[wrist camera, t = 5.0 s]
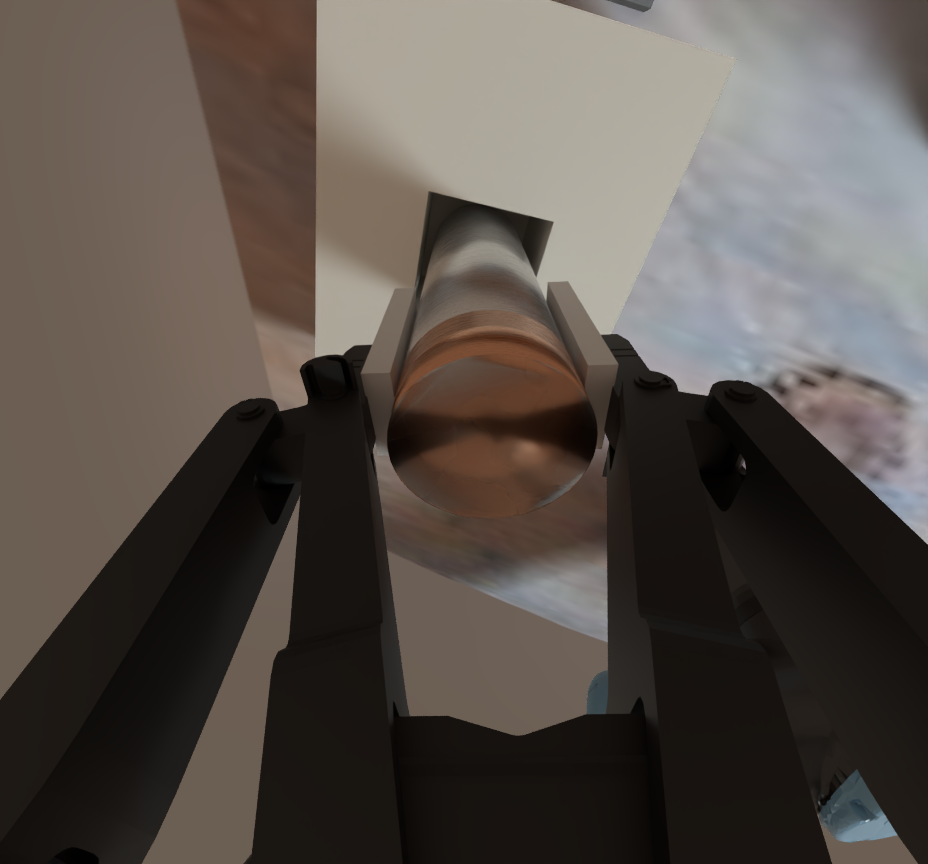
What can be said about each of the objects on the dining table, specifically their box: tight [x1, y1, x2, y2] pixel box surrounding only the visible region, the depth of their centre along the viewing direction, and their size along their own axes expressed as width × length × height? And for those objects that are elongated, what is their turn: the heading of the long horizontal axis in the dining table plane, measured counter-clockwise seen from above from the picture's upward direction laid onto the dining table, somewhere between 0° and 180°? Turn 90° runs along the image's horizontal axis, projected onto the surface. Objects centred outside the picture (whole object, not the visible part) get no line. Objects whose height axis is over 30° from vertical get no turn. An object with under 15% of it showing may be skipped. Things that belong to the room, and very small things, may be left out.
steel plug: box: [387, 204, 598, 518], centre depth 17 cm, size 5×5×18 cm
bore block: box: [315, 0, 737, 358], centre depth 25 cm, size 20×16×8 cm
